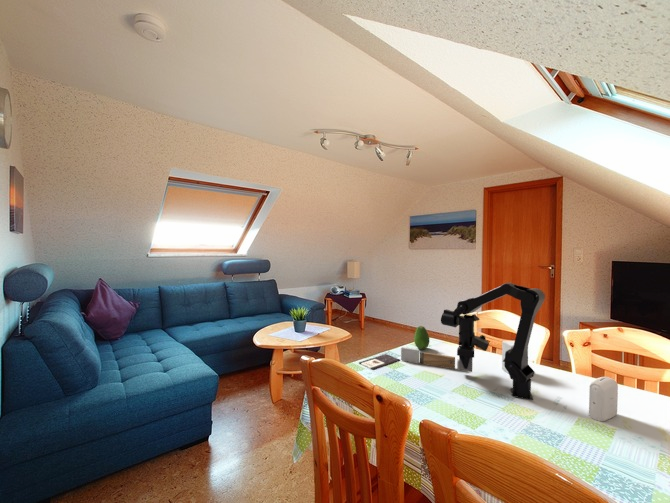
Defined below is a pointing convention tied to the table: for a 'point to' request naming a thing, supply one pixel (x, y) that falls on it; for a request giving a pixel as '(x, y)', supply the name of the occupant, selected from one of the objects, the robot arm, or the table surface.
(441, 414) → the table surface
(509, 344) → the supplement box
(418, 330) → the fruit
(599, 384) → the photo printer
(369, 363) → the chocolate bar
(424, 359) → the oak door
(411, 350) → the frame
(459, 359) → the block
